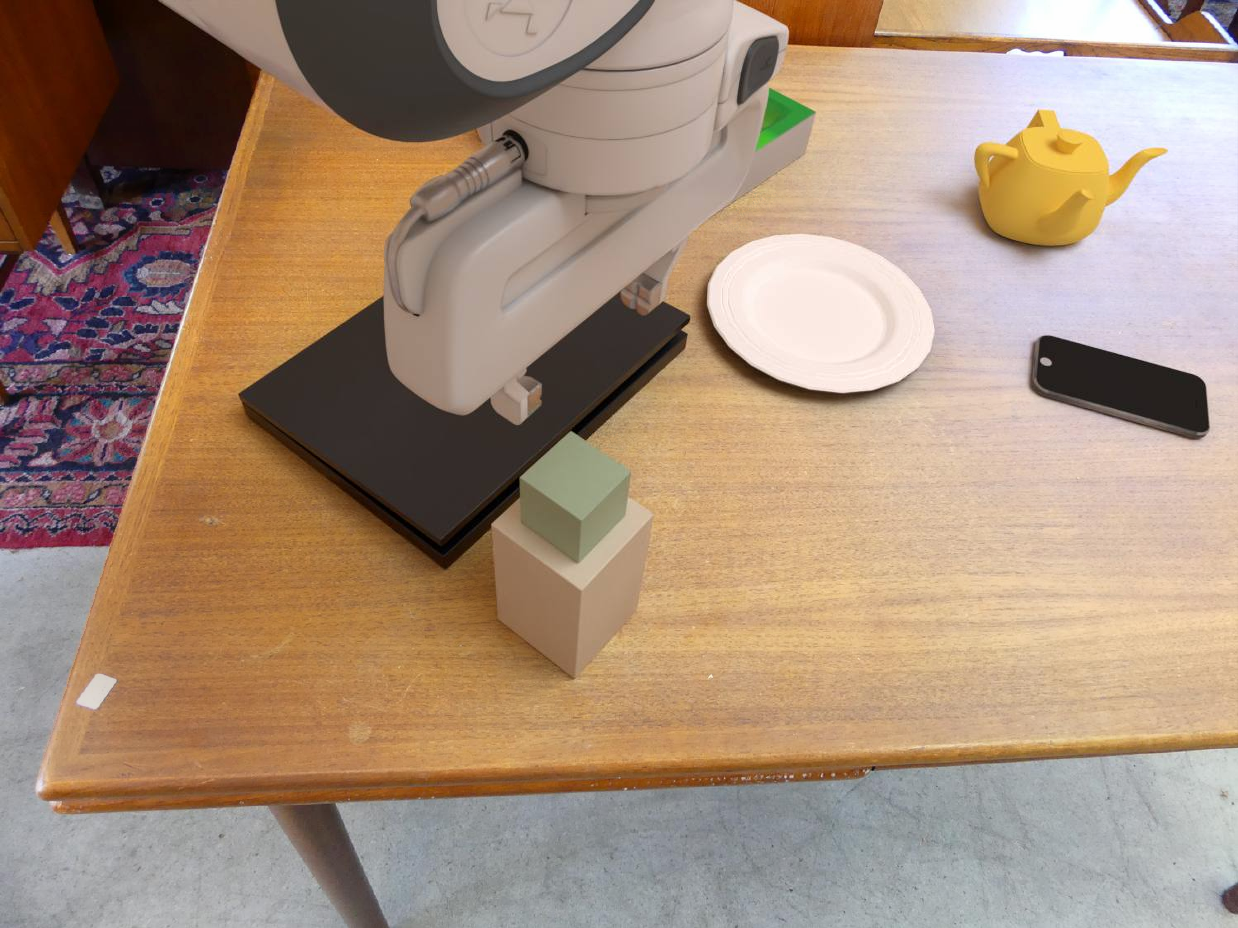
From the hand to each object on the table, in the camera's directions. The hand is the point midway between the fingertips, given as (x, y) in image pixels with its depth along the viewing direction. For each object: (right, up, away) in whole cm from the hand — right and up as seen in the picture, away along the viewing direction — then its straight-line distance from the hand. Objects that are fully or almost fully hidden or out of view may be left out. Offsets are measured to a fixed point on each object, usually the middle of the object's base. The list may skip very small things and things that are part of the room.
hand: (582, 353), depth 44 cm
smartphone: (+46, +1, +38) cm, 60 cm away
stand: (-2, -16, +21) cm, 26 cm away
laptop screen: (-10, +3, +32) cm, 33 cm away
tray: (+5, +29, +56) cm, 63 cm away
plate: (+20, +8, +41) cm, 46 cm away
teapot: (+46, +20, +53) cm, 72 cm away
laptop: (-10, +2, +33) cm, 35 cm away
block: (-1, -9, +11) cm, 14 cm away
